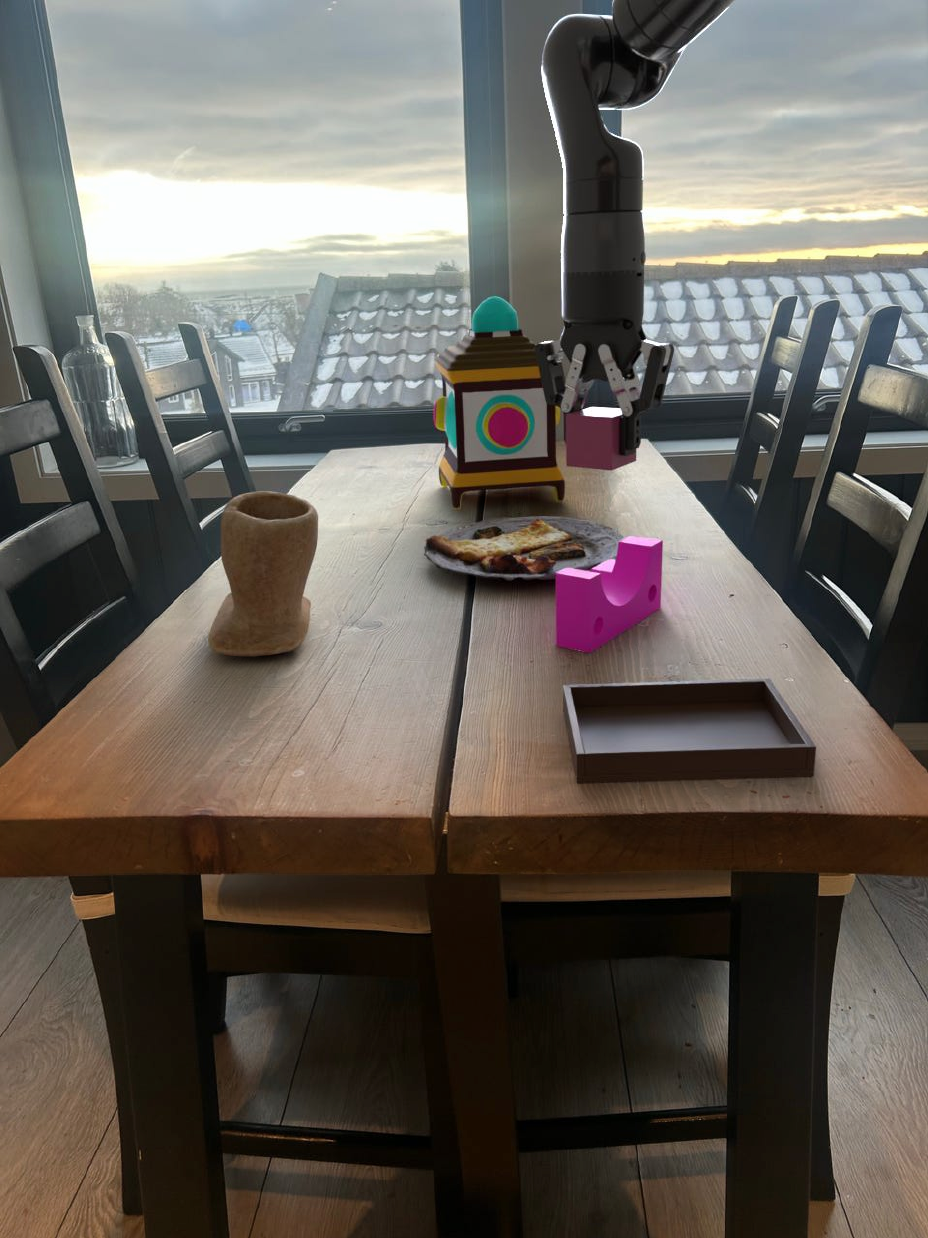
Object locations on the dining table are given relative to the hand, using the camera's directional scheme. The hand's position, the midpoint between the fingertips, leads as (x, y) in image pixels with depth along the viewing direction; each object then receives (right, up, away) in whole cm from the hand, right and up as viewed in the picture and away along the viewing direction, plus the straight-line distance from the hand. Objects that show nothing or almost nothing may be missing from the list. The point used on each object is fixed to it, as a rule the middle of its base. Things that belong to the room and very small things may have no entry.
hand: (601, 451), depth 97 cm
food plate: (-6, -9, +28) cm, 30 cm away
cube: (0, -1, 0) cm, 1 cm away
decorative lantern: (-8, +3, +62) cm, 62 cm away
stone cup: (-33, -18, +6) cm, 38 cm away
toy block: (+1, -17, +6) cm, 18 cm away
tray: (+3, -26, -19) cm, 32 cm away
